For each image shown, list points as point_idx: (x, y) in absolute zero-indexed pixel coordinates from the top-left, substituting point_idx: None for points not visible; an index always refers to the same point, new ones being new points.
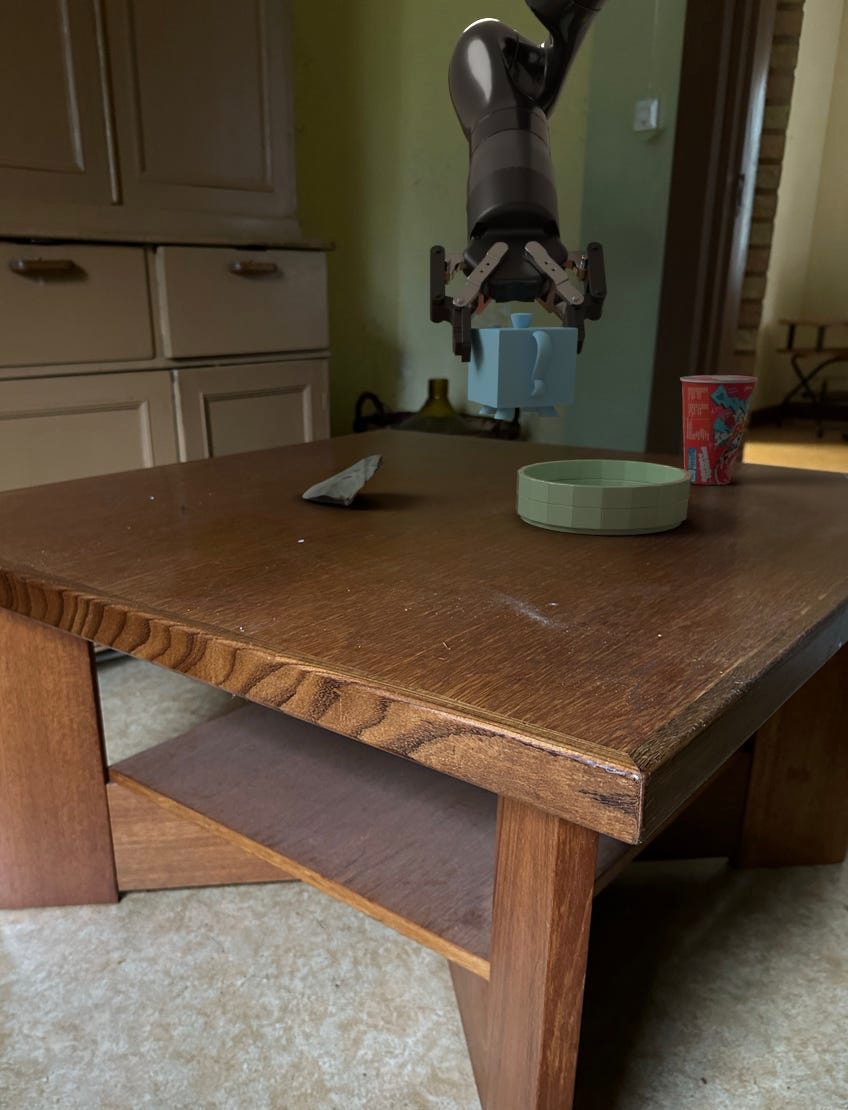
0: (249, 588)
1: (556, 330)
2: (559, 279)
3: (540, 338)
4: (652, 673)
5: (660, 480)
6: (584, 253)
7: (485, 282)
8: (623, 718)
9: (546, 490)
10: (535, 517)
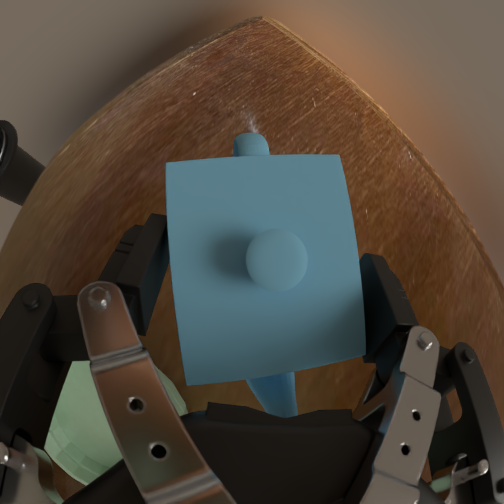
0: (418, 229)
1: (215, 158)
2: (126, 356)
3: (258, 135)
4: (223, 57)
5: (50, 437)
6: (3, 499)
7: (388, 401)
8: (254, 32)
9: (169, 396)
10: (180, 397)
